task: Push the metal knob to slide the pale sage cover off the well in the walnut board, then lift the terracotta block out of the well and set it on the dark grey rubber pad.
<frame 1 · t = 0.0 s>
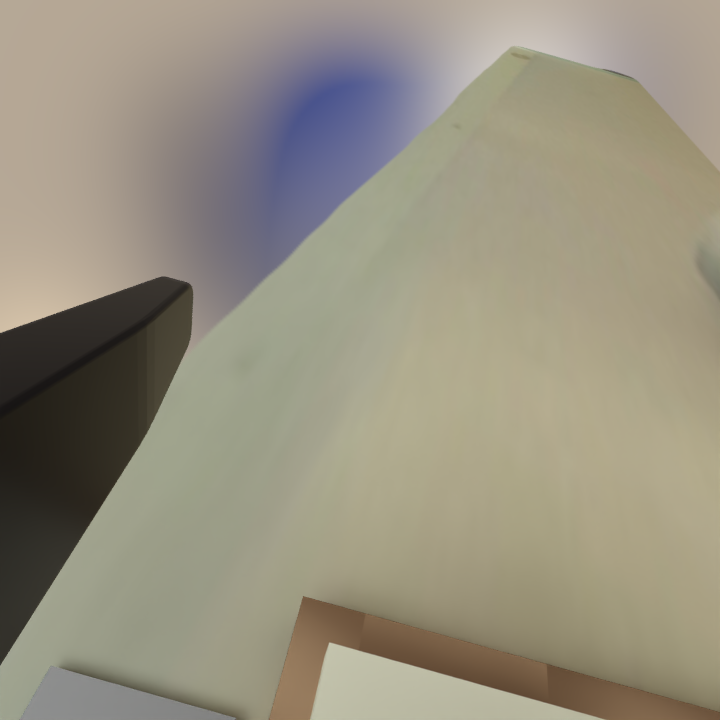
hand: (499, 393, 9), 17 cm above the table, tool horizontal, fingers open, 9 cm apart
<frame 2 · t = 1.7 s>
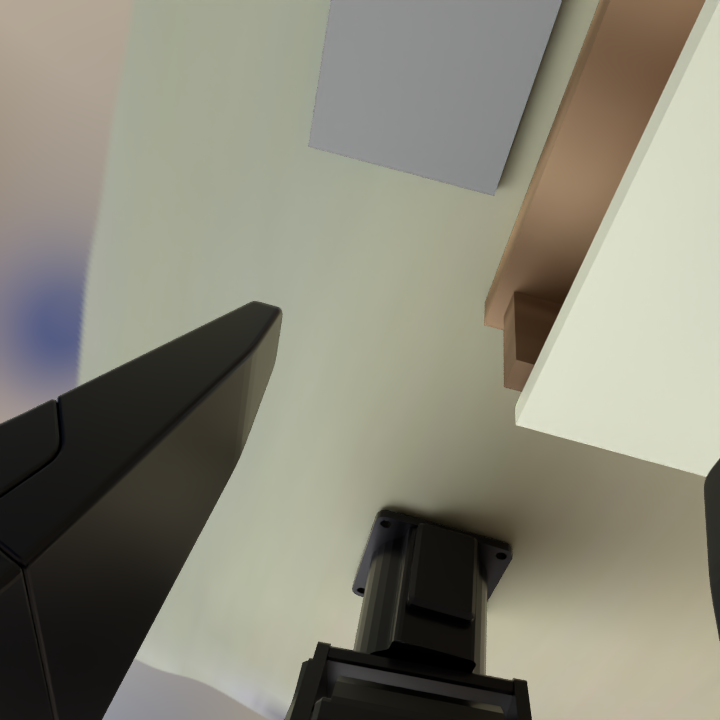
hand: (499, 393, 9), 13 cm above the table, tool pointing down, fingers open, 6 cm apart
grey pad: (436, 30, 18), on the table
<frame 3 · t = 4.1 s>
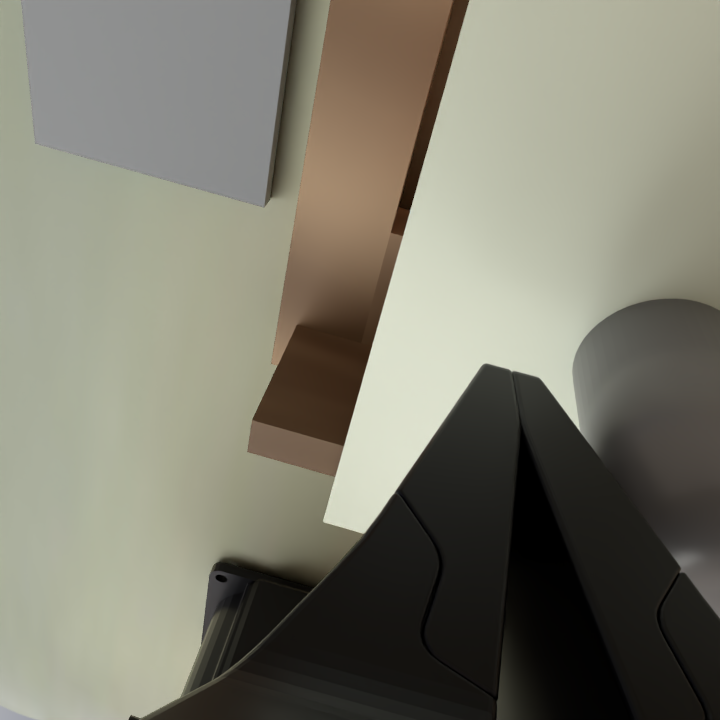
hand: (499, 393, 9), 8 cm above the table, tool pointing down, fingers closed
sliding cover: (677, 431, 9), point 8 cm above the table, slide at 1.6 cm, touching gripper
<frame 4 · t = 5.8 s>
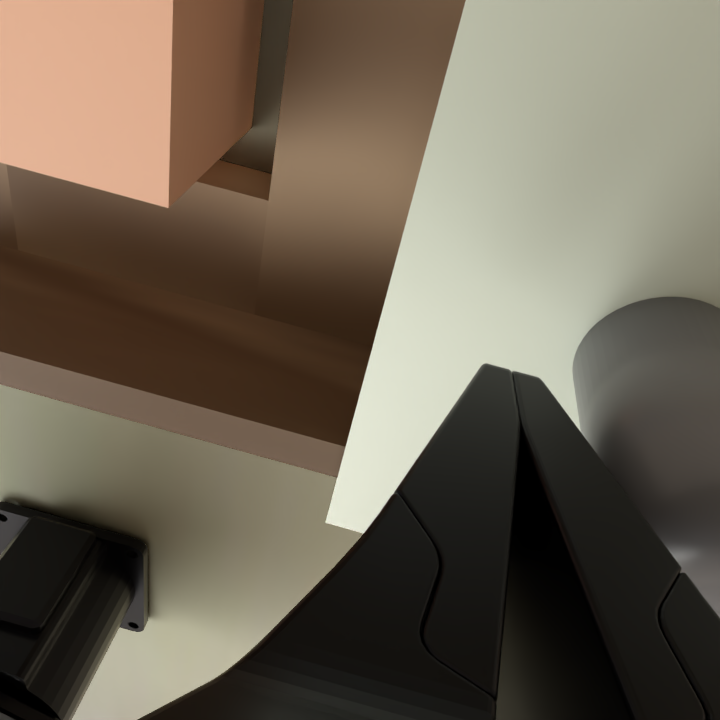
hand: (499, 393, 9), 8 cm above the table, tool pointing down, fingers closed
sliding cover: (677, 429, 9), point 8 cm above the table, slide at 11.0 cm, touching gripper
walnut board: (403, 65, 14), on the table
terracotta block: (165, 0, 14), resting in walnut board
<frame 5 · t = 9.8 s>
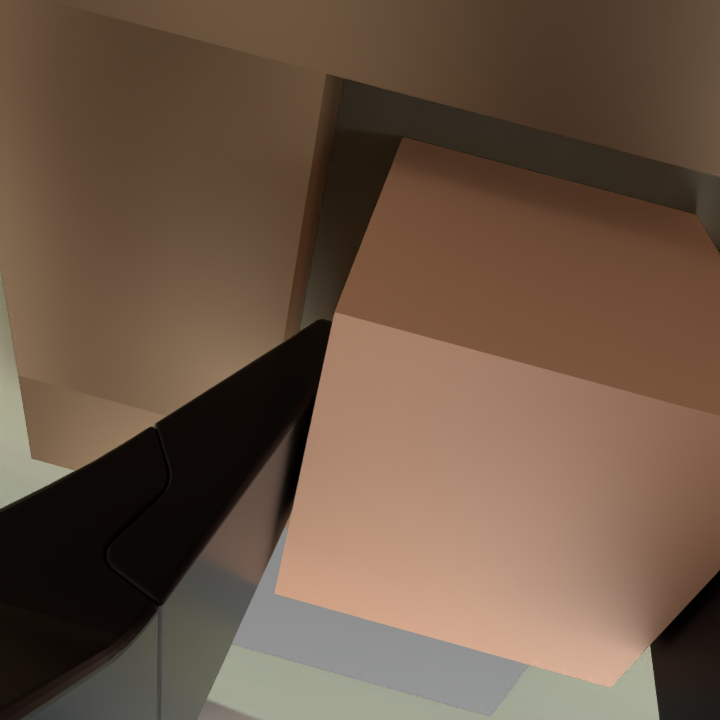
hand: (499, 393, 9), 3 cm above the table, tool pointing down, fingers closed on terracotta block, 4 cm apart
grey pad: (378, 604, 17), on the table
terracotta block: (499, 300, 11), resting in walnut board, touching gripper
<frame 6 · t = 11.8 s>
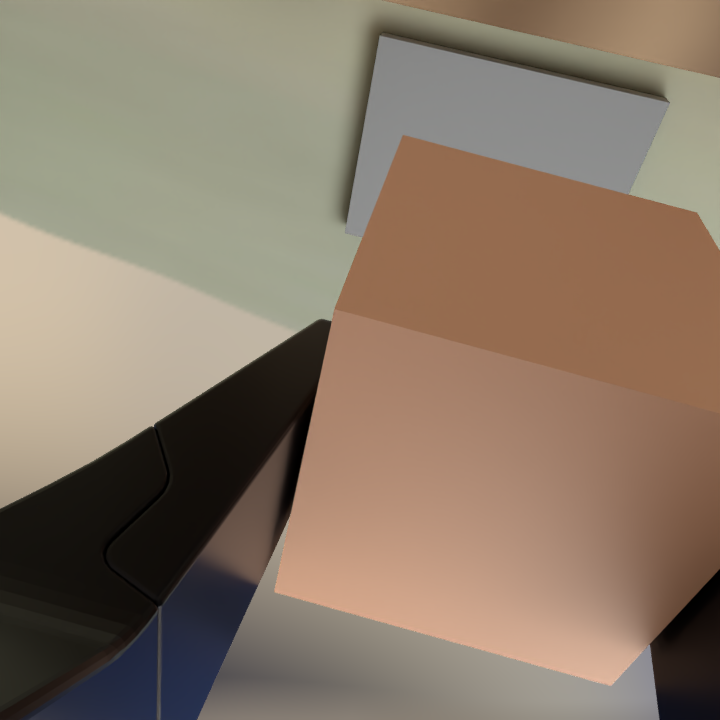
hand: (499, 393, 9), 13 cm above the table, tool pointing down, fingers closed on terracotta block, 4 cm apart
grey pad: (491, 168, 20), on the table
terracotta block: (499, 298, 11), point 10 cm above the table, touching gripper
when the fingers open (4 cm above the table, at t = 13.7 s): terracotta block drops 1 cm, resting on grey pad.
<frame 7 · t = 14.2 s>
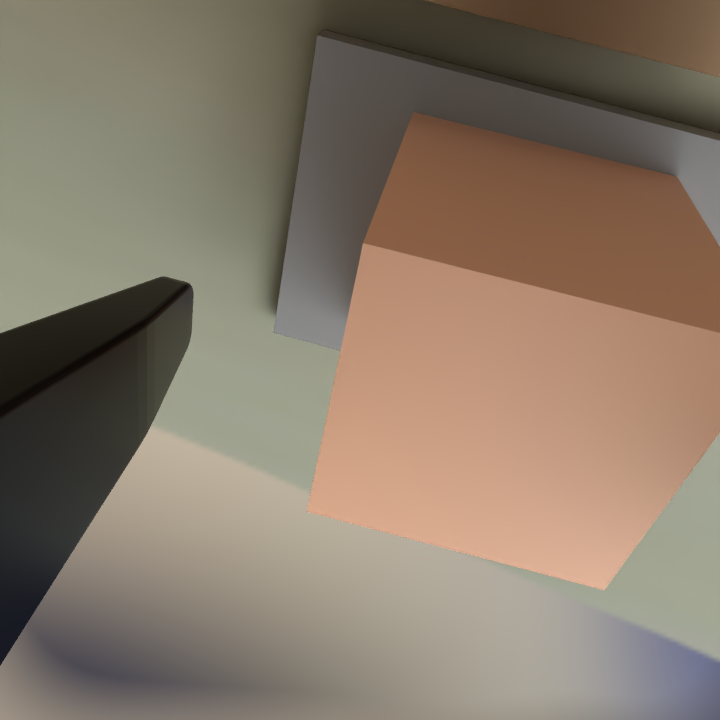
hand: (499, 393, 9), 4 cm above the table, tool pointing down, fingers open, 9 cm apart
grey pad: (497, 249, 13), on the table
terracotta block: (501, 261, 12), resting on grey pad
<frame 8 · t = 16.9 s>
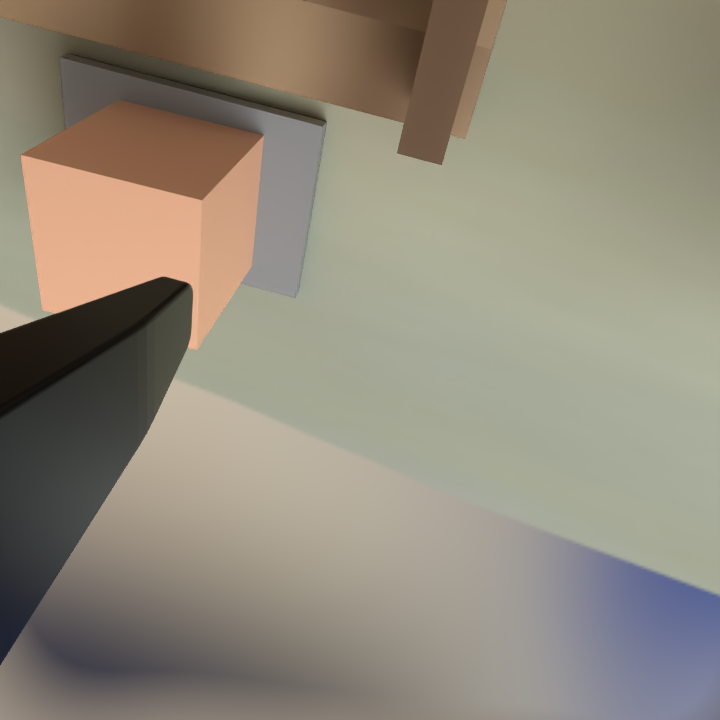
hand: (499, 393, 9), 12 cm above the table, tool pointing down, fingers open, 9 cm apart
grey pad: (193, 182, 21), on the table
terracotta block: (189, 188, 21), resting on grey pad
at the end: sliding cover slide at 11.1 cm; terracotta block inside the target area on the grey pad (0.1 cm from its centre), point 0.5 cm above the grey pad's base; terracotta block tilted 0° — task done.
